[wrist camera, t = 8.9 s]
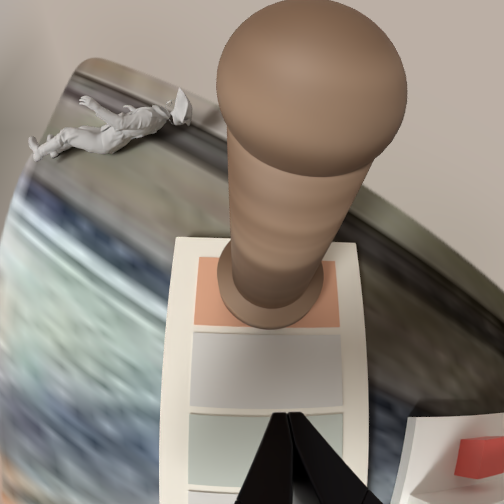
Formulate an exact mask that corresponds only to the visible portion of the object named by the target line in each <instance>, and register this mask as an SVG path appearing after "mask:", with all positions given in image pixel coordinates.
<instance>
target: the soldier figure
mask: <svg viewBox="0 0 504 504" xmlns="http://www.w3.org/2000/svg"><path fill="white" fill-rule="evenodd" d="M85 99H86V100H85ZM79 101H84V102H86V103H84V102H82V103H79V104H82V105H85V106H87V107H89V108H90V109H91V110H94V111H95V112H96V113H97V114H96V116H97V117H99V118H100V119H102V120H104V121H105V122H106V123H108V124H106V125H104V126H102V127H101V128H99V127H92V126H87V125H83V126H81V127H79V128H75V127H66V128H64V129H62V130H61V131H60V133H59V134H57V135H56V136H55V137H54V136H53V135H52V134H50V135H48V137H47V142H46V143H44V144H42V145H41V146H40V145H38V142H37V140H36V138H35V137H34V136H31V137H29V147H30V148H31V149H32V150H33V152H34V155H33V157H34V160H35V161H36V162H38V161H39V160H41V159H42V158H43V156H44V155H47V154H49V153H50V155H51V157H52V158H54V157H56V156H57V155H58V154H59V153H61V152H63V151H65V150H67V149H69V148H71V147H73V146H74V147H76V148H80V149H84V150H86V151H88V152H91V153H94V152H95V153H99V154H107V153H112V154H113V153H114V152H116V151H117V150H119V149H121V148H122V147H124V146H125V145H126V144H127V143H129V141H130V140H131V139H133V138H139V137H143V136H145V135H148V134H153V133H156V132H157V130H159V129H161V128H162V127H163V125H164V124H165V123H166V122H167V119H169V118H170V116H171V115H172V116H173V122H174V124H175V125H181V124H182V123H183V124H184V123H186V124H187V125H188V126H190V122H191V118H192V105H191V103H190V101H189V100H188V98H187V97H186V95H185V94H184V92H183V91H182V90H181V88H180V87H179V90H178V93H177V99H176V100H175V108H174V110H173V111H172V112H170V113H169V112H168V110H165V109H164V108H163V107H162V106H161V107H160V106H157V105H152V107H140V108H137V109H136V108H134V107H133V106H130V105H125V106H124V108H129V109H130V111H131V112H129V113H127V114H125V113H123V112H122V113H120V114H119V115H117V114H114V113H112V112H111V111H108V109H105V108H104V107H101V106H100V105H99V104H98V103H97V102H96V101H95V100H94V99H93V98H91V97H89V96H83V97H81V99H80V100H79ZM170 101H172V100H170ZM170 101H168V102H166V103H169V102H170ZM171 103H172V102H171ZM167 105H168V104H167ZM165 106H166V105H165ZM170 106H171V105H170ZM170 114H171V115H170ZM136 136H137V137H136Z"/></svg>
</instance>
